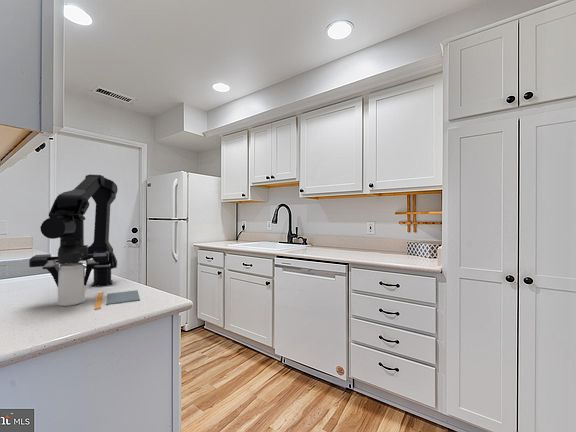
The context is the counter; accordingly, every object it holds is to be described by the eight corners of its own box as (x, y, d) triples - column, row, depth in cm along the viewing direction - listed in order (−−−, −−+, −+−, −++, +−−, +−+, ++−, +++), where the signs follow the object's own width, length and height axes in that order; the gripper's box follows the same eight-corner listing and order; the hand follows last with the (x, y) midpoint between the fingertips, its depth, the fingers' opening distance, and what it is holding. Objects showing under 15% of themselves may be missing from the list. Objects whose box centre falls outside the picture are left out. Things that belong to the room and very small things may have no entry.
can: (70, 307, 82) (70, 266, 82) (52, 305, 84) (52, 265, 83) (90, 300, 89) (89, 262, 89) (73, 299, 90) (72, 261, 90)
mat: (107, 294, 95) (107, 293, 95) (137, 291, 100) (137, 290, 100) (106, 305, 85) (106, 303, 85) (139, 300, 90) (139, 299, 90)
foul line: (98, 293, 96) (98, 292, 96) (103, 293, 97) (103, 292, 97) (94, 309, 81) (94, 308, 81) (100, 308, 82) (100, 307, 82)
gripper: (23, 239, 74) (24, 298, 74) (107, 236, 84) (108, 288, 84) (34, 236, 84) (34, 288, 84) (108, 233, 93) (108, 280, 94)
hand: (72, 286), depth 86 cm, fingers closed on can, 6 cm apart
